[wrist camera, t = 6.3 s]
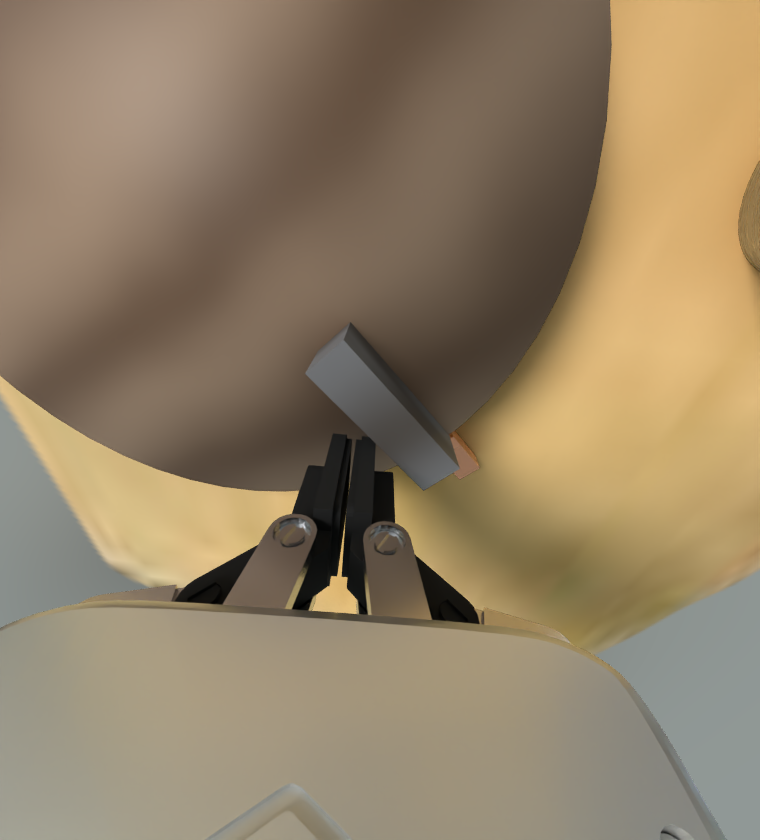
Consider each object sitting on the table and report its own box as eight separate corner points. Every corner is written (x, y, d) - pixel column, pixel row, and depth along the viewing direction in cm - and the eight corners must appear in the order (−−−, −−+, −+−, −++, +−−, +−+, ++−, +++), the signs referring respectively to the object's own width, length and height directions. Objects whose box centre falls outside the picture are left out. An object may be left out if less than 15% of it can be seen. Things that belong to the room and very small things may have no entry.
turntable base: (65, -3, 10) (26, -31, 9) (585, 62, 10) (608, 43, 9) (177, 442, 18) (163, 455, 17) (470, 466, 18) (475, 480, 17)
